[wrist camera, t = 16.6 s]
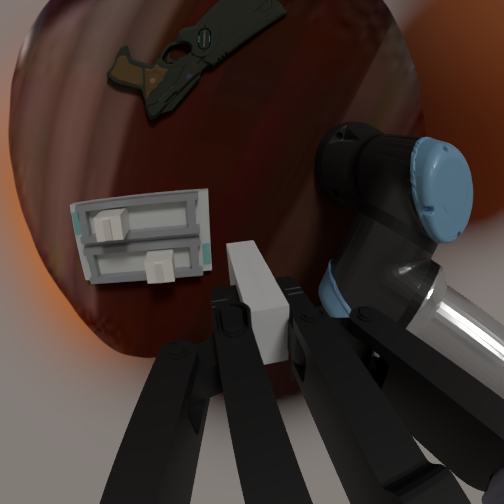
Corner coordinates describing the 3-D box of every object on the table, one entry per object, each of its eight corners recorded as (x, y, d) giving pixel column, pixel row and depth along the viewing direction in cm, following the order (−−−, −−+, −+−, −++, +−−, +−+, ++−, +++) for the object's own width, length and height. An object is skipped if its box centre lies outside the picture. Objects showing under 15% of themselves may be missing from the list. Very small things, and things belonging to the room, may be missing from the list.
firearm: (221, -39, 24) (291, 9, 30) (220, -32, 26) (287, 13, 32) (92, 79, 28) (166, 131, 35) (96, 81, 30) (168, 131, 37)
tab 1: (127, 206, 38) (118, 216, 33) (130, 227, 39) (122, 241, 34) (103, 209, 37) (91, 219, 32) (106, 230, 38) (96, 243, 33)
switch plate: (207, 188, 41) (208, 192, 38) (211, 266, 46) (212, 274, 43) (73, 202, 37) (66, 207, 34) (88, 276, 42) (83, 284, 39)
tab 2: (173, 246, 42) (171, 261, 37) (175, 266, 43) (174, 283, 38) (148, 248, 41) (143, 264, 36) (151, 268, 42) (147, 285, 37)
